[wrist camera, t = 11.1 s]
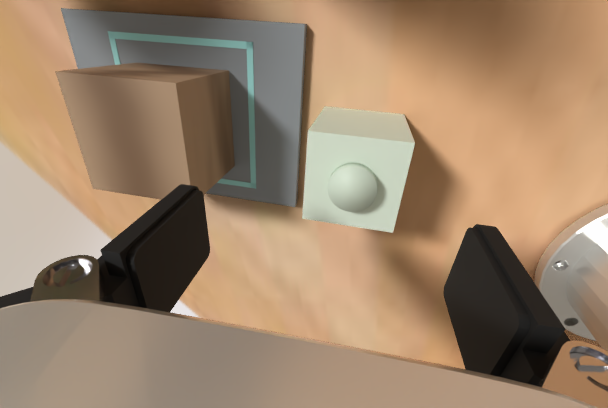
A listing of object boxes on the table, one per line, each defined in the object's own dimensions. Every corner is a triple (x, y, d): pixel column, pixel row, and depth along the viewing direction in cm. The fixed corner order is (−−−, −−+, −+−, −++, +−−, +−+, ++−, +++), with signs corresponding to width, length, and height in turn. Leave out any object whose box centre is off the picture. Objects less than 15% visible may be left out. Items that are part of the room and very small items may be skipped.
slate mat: (306, 24, 18) (304, 23, 17) (297, 203, 24) (295, 207, 23) (69, 9, 20) (60, 8, 19) (114, 175, 26) (108, 178, 25)
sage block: (404, 114, 19) (416, 147, 13) (388, 185, 21) (393, 240, 16) (325, 106, 20) (305, 134, 14) (318, 176, 22) (299, 225, 16)
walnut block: (228, 70, 19) (175, 82, 14) (234, 165, 22) (193, 204, 17) (136, 62, 20) (55, 71, 15) (155, 155, 23) (93, 188, 18)
